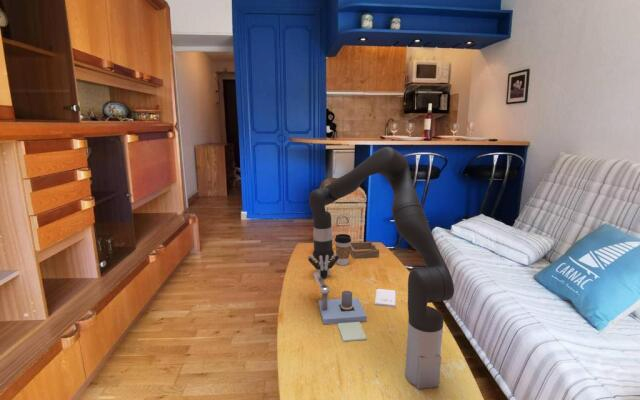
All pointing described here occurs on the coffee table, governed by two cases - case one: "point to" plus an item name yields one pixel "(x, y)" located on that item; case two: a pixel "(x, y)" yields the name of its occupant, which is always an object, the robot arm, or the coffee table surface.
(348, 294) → the plug
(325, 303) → the plate
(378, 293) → the external hard drive
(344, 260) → the coffee cup
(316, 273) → the clip
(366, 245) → the coaster tray
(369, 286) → the coffee table surface
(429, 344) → the robot arm
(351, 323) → the pad
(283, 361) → the coffee table surface
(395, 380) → the coffee table surface
